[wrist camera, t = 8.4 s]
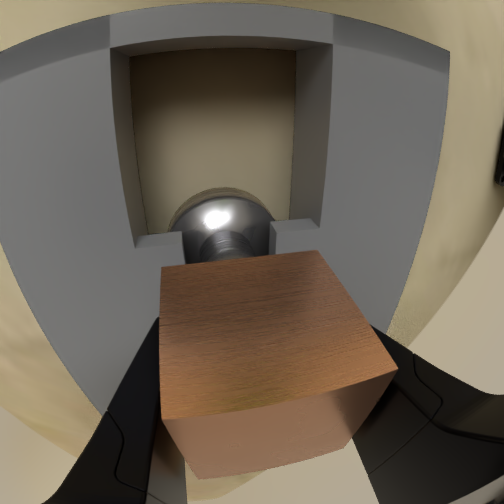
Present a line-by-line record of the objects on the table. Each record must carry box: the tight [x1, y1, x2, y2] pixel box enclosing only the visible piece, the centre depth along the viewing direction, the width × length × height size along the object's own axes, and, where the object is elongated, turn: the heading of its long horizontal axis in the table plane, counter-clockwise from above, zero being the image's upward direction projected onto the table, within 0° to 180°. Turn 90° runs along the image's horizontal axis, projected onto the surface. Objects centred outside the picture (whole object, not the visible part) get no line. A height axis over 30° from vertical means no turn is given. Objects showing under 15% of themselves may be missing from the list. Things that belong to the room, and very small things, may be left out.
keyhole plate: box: [0, 3, 450, 416], centre depth 12 cm, size 18×16×3 cm
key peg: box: [159, 188, 398, 479], centre depth 9 cm, size 4×4×8 cm
